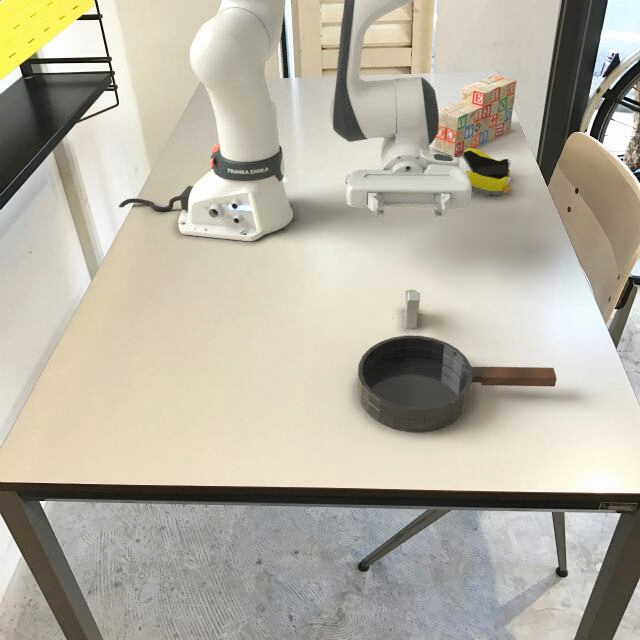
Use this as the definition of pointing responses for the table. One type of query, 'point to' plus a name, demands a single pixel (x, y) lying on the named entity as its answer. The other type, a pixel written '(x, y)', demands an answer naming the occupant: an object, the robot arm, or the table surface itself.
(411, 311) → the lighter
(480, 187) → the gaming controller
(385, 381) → the pan
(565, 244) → the table surface
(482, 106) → the stack of blocks
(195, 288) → the table surface
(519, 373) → the pan handle
